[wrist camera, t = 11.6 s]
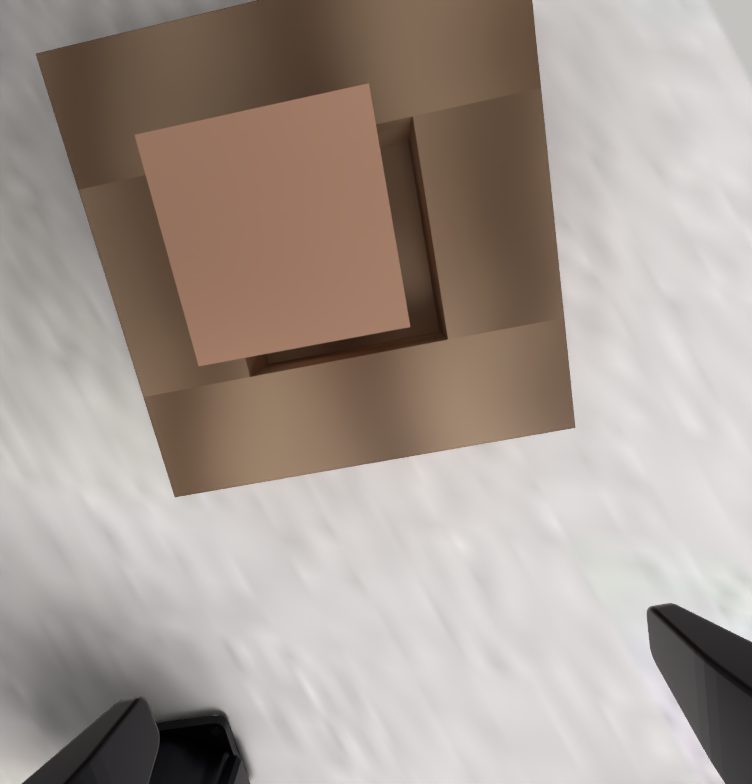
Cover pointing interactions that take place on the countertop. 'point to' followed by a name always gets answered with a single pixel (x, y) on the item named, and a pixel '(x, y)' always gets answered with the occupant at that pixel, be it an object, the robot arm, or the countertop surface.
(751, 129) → the countertop surface
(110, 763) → the robot arm
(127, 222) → the walnut socket block
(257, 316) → the terracotta peg
